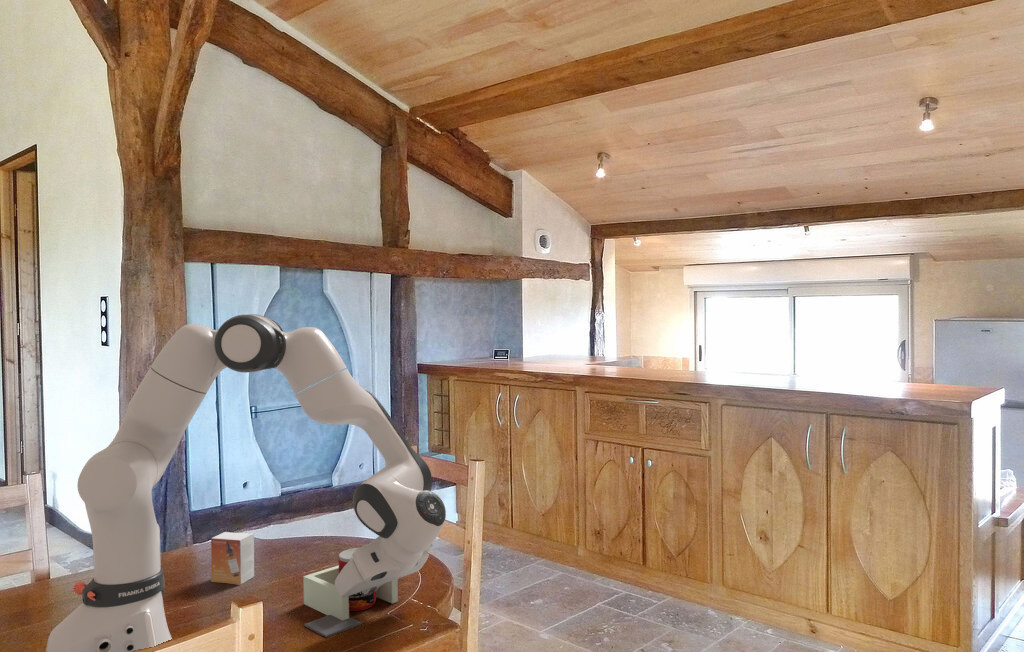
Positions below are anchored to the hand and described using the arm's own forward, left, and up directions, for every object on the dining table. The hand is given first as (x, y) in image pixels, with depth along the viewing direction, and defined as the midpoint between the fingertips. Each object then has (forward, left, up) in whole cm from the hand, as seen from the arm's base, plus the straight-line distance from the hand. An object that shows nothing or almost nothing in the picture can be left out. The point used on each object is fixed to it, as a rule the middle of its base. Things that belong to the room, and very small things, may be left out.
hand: (368, 589), depth 151 cm
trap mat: (-9, 0, -4) cm, 10 cm away
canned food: (0, +4, -5) cm, 6 cm away
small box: (-10, +40, -5) cm, 41 cm away
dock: (0, +6, -4) cm, 7 cm away
